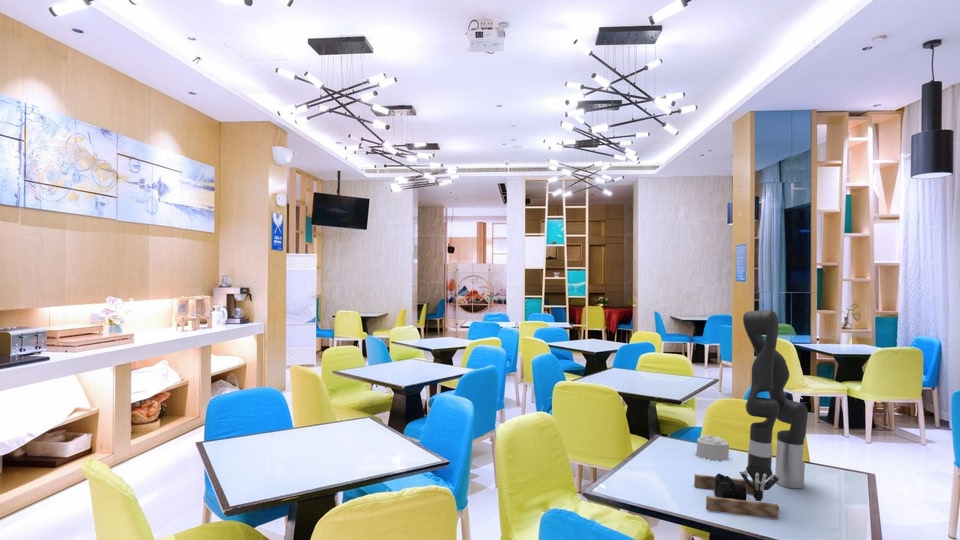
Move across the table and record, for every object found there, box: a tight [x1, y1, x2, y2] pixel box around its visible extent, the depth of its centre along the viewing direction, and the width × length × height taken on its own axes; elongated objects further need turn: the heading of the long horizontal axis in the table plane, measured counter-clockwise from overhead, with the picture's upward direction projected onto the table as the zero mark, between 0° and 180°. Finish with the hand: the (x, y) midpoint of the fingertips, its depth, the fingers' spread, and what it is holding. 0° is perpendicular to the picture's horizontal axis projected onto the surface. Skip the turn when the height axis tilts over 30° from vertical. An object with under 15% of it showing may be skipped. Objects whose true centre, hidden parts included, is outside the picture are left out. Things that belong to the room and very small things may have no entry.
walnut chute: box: [693, 473, 780, 520], centre depth 192 cm, size 23×21×4 cm
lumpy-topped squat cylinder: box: [696, 433, 730, 461], centre depth 237 cm, size 10×13×9 cm
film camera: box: [713, 473, 748, 501], centre depth 192 cm, size 15×10×9 cm, turn 167°
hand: (757, 500), depth 190 cm, fingers closed
